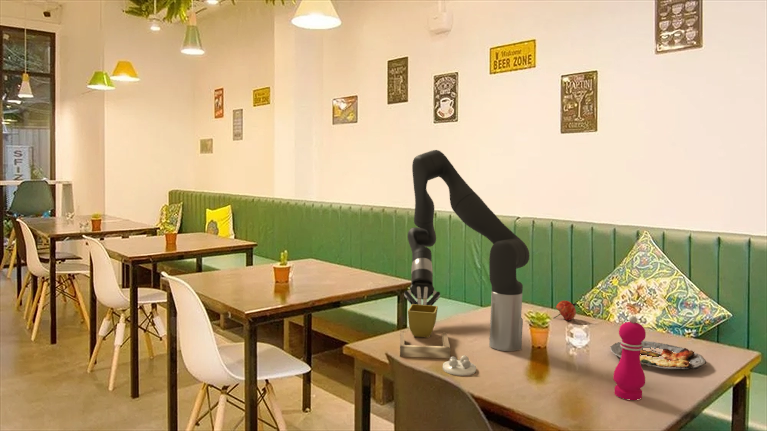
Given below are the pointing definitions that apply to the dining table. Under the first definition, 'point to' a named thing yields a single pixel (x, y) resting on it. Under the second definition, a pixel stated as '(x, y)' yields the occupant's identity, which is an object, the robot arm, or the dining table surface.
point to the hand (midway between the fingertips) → (422, 316)
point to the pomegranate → (566, 309)
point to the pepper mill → (630, 361)
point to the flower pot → (422, 319)
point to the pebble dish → (459, 366)
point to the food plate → (665, 356)
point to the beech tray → (425, 349)
